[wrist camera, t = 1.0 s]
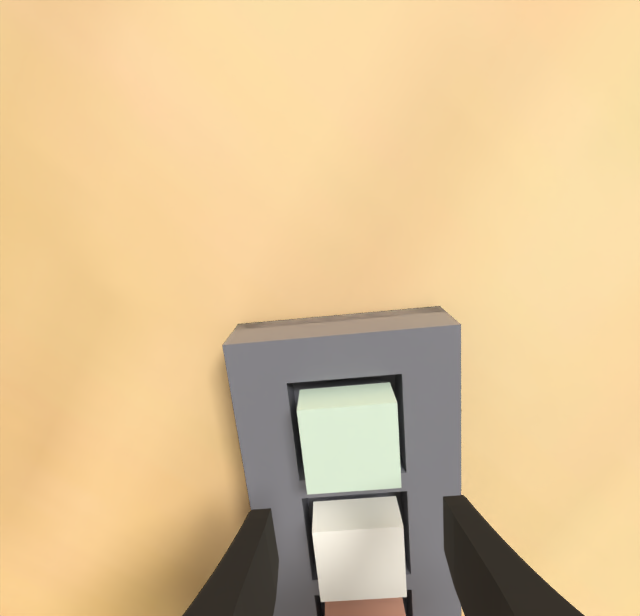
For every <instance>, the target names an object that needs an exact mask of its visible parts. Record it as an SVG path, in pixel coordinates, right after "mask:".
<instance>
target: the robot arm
mask: <svg viewBox="0 0 640 616" xmlns="http://www.w3.org/2000/svg"><path fill="white" fill-rule="evenodd" d="M443 533H444V552H445V556H446V560H447V563H448V567H449V571H450V574H451V578H452V581H453V585H454V588H455V591H456V593H457V596H458V599H459V601H460V604H461V606H462V609H463V612H464V614H465V616H584V615H583V614H582V613H581V612H579V611H578V610H577V609H576V608H575V607H574V606H572V605H571V604H570V603H569V602H568V601H567V600H565V599H564V598H563V597H562V596H561V595H560V594H559V593H557V592H556V591H555V590H554V589H553V588H552V587H551V586H550V585H549V584H548V583H547V582H545V581H544V580H543V579H542V578H541V577H540V576H539V575H538V574H537V573H536V572H535V571H534V570H533V569H532V568H531V567H530V566H529V565H528V564H527V563H526V562H525V561H524V560H523V559H522V558H521V557H520V556H519V555H518V554H517V553H516V552H515V551H514V550H513V549H512V548H511V547H510V546H509V545H508V544H507V543H506V542H505V541H504V540H503V539H502V538H501V537H500V536H499V534H498V533H497V532H496V531H495V530H494V529H493V528H492V527H491V526H490V525H489V523H488V522H487V521H486V520H485V519H484V518H483V517H482V516H481V514H480V513H479V512H478V511H477V510H476V509H475V508H474V506H473V505H472V504H471V503H470V502H469V500H468V499H467V498H466V497H465V496H463V495H456V496H443ZM278 569H279V556H278V550H277V543H276V537H275V531H274V524H273V518H272V512H271V508H268V509H253V510H251V511H250V512H249V514H248V515H247V517H246V519H245V521H244V523H243V525H242V526H241V528H240V530H239V532H238V533H237V535H236V537H235V538H234V540H233V542H232V543H231V545H230V547H229V548H228V550H227V552H226V553H225V555H224V556H223V558H222V560H221V561H220V563H219V564H218V566H217V567H216V569H215V571H214V572H213V574H212V575H211V577H210V578H209V579H208V581H207V582H206V584H205V585H204V587H203V588H202V589H201V591H200V592H199V594H198V595H197V596H196V598H195V599H194V601H193V602H192V604H191V605H190V606H189V608H188V609H187V610H186V612H185V613H184V614H183V615H182V616H273V614H274V608H275V602H276V594H277V582H278Z"/></svg>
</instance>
